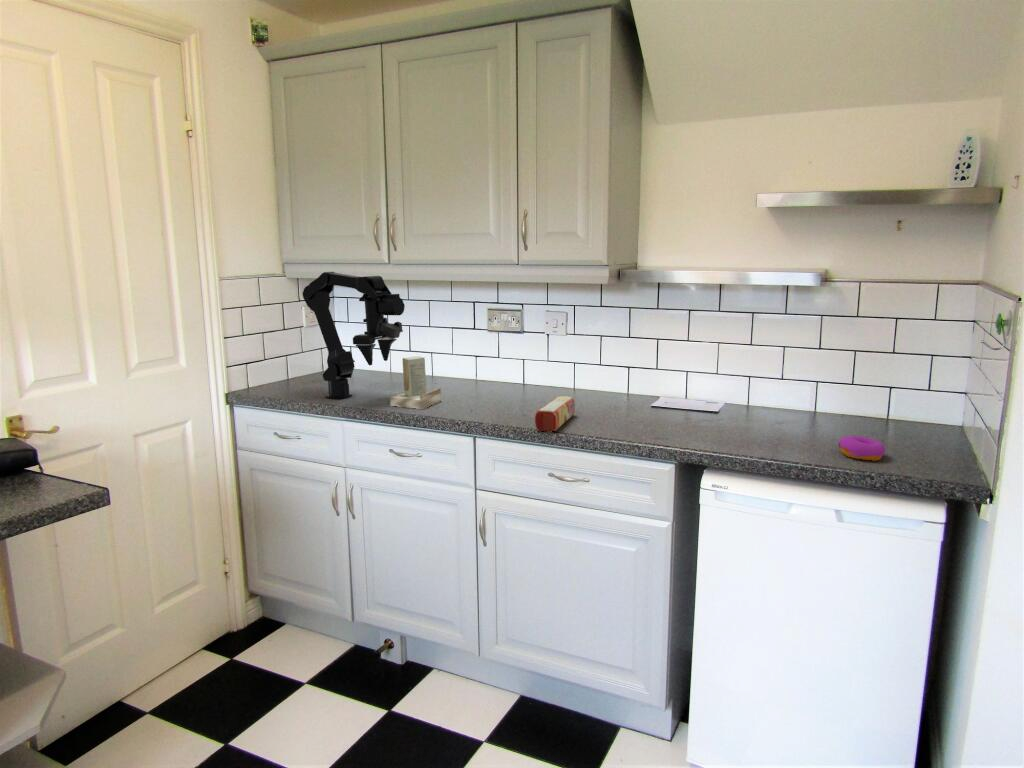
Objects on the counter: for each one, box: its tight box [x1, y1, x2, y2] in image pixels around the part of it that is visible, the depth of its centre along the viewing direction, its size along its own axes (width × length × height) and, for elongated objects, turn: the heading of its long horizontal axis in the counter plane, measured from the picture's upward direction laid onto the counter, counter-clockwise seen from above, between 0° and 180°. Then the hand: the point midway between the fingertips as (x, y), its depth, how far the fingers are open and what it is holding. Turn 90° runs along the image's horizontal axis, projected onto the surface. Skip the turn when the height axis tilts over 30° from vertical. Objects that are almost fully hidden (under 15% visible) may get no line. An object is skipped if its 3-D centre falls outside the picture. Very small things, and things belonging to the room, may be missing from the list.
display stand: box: [389, 387, 442, 410], centre depth 228 cm, size 12×12×4 cm
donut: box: [838, 435, 886, 462], centre depth 170 cm, size 10×10×5 cm
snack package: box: [534, 395, 576, 433], centre depth 203 cm, size 21×7×7 cm, turn 160°
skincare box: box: [402, 355, 428, 396], centre depth 227 cm, size 6×4×12 cm
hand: (378, 362), depth 228 cm, fingers open, 9 cm apart
